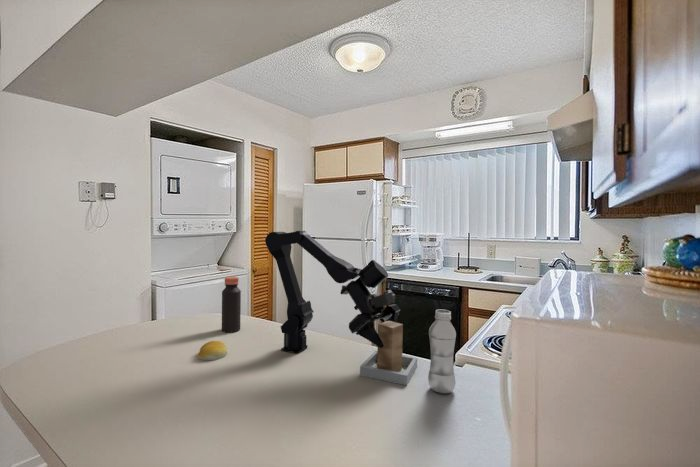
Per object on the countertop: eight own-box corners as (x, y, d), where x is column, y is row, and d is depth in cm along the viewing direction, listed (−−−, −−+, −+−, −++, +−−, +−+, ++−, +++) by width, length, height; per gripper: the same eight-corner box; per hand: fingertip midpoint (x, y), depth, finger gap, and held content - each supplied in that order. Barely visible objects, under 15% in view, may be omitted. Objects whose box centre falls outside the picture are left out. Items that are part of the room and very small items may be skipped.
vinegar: (226, 327, 132) (227, 276, 132) (243, 327, 132) (243, 276, 131) (218, 332, 126) (218, 279, 125) (235, 333, 125) (236, 279, 124)
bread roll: (196, 362, 99) (196, 349, 99) (201, 351, 108) (201, 339, 107) (226, 360, 101) (226, 347, 101) (228, 349, 110) (228, 337, 110)
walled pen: (359, 375, 92) (360, 366, 92) (375, 358, 104) (375, 350, 104) (406, 385, 87) (407, 375, 87) (417, 366, 99) (417, 357, 99)
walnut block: (377, 369, 95) (378, 324, 95) (387, 364, 99) (388, 320, 99) (391, 375, 92) (392, 328, 92) (401, 369, 96) (402, 324, 95)
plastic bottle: (454, 399, 81) (456, 316, 80) (425, 393, 83) (427, 312, 82) (455, 387, 87) (458, 309, 86) (429, 382, 89) (431, 307, 88)
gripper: (357, 285, 91) (390, 335, 84) (396, 278, 105) (427, 320, 98) (335, 309, 96) (365, 358, 89) (375, 299, 110) (402, 340, 104)
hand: (392, 343), depth 95 cm, fingers open, 9 cm apart
